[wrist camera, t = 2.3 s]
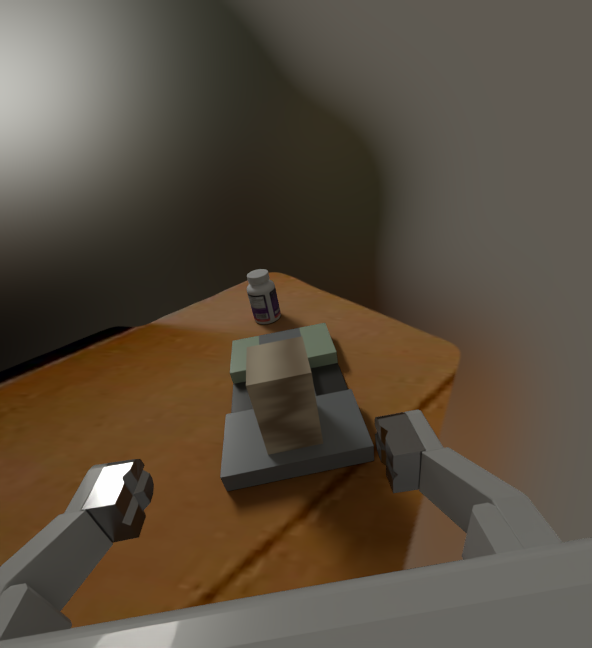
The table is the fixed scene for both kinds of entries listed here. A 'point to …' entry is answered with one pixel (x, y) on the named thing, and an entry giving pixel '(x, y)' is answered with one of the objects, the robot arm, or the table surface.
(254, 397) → the birch block
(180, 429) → the table surface
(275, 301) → the pill bottle
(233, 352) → the board
